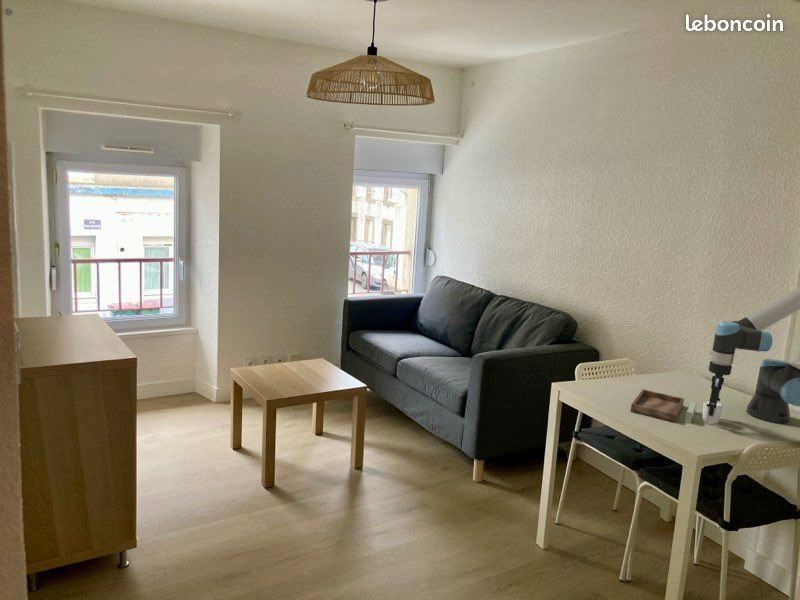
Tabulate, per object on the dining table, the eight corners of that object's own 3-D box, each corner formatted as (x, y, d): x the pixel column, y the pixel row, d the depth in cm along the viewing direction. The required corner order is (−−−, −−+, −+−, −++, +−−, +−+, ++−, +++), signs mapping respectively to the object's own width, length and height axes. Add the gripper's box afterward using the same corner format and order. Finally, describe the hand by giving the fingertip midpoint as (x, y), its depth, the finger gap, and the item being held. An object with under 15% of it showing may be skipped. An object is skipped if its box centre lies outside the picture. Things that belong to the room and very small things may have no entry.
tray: (682, 405, 260) (684, 398, 259) (674, 422, 239) (676, 414, 239) (641, 396, 267) (642, 389, 267) (630, 411, 247) (631, 404, 246)
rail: (695, 411, 254) (696, 401, 253) (690, 423, 240) (692, 412, 239) (689, 410, 255) (691, 400, 254) (684, 421, 241) (686, 411, 240)
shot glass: (722, 425, 241) (725, 407, 240) (702, 422, 242) (706, 404, 241) (717, 418, 248) (720, 401, 246) (698, 416, 249) (701, 398, 248)
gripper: (712, 355, 252) (702, 410, 256) (707, 366, 233) (696, 425, 238) (733, 359, 248) (723, 414, 252) (730, 371, 230) (719, 430, 234)
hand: (710, 419), depth 245 cm, fingers open, 8 cm apart
